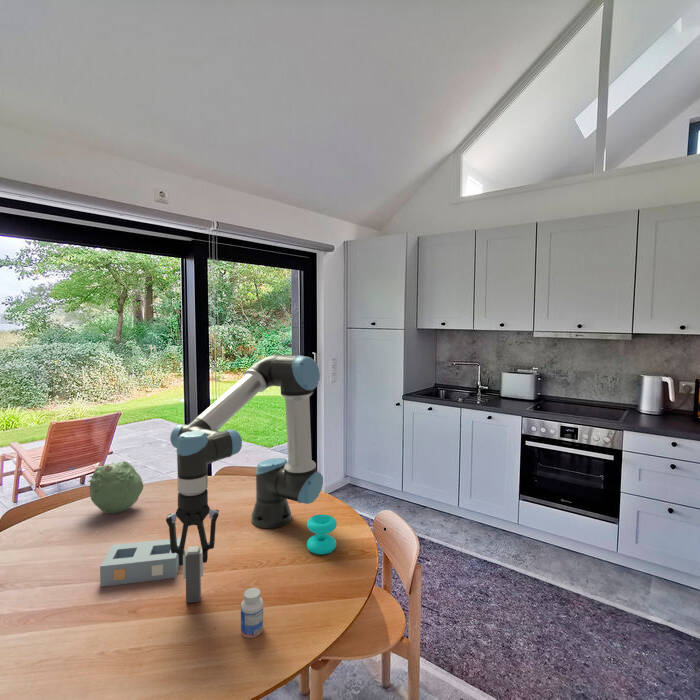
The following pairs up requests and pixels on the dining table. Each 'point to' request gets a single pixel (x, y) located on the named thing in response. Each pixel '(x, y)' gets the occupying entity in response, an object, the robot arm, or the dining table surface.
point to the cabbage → (115, 487)
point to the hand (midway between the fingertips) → (193, 574)
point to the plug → (193, 574)
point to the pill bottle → (252, 613)
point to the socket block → (139, 563)
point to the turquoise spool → (321, 534)
